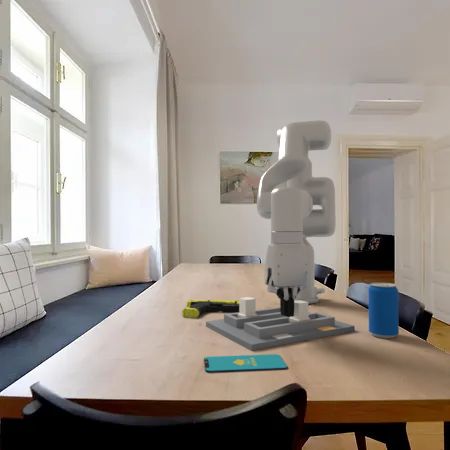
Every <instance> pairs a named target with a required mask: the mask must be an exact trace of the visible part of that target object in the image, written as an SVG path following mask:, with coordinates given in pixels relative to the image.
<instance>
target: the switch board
mask: <svg viewBox="0 0 450 450" xmlns="http://www.w3.org/2000/svg"><path fill="white" fill-rule="evenodd" d="M238 314H239V312H229V313H225V314H223V319H222V318H221V319H215V320H207V321H205V327H207V328H209V329H211V330H212V331H214V332H216V333H217V334H220V335H221V336H223V337H226V338H227V339H229V340H231V341H233V342H235V343H237V344H239V345H240V346H242V347H245V348H246V349H248V350H250V351H257V350H261V349H267V348H273V347H277V346H282V345H288V344H292V343H297V342H303V341H304V342H305V341H309V340H312V339H313V340H314V339H318V338H325V337H328V336H329V337H330V336H334V335H339V334H345V333H351V332H355V325H353V324H349V323H345V322H342V321H340V320H336V319H335V318H336V317H335V316H331V315H328V314H325V313H322V312H317V311H316V312H315V311H314V312H309V311H308V317H309V318H310V320H304V321H298V322H292V323H289V318H291V316H290V317H286V316H283V315H281V311H280V306H279V307H278V306H276V307H269V308H262V309H256V314H257V315H256V316H249V317H242V318H238Z"/></svg>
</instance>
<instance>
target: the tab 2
mask: <svg viewBox="0 0 450 450" xmlns="http://www.w3.org/2000/svg"><path fill="white" fill-rule="evenodd" d="M308 312H309V304H308V302H305V301H301V300H298V301H294V316H293V317H291V318H289V323H292V322H298V321H304V320H310V318H309V317H308Z"/></svg>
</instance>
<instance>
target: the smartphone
mask: <svg viewBox="0 0 450 450" xmlns="http://www.w3.org/2000/svg"><path fill="white" fill-rule="evenodd" d="M203 364H204V371H205V373H207V374H210V373H211V374H214V373H235V372H236V373H238V372H256V371H257V372H258V371H262V372H263V371H281V370H282V371H283V370H287V369H288V365H287V364H286V362H285V360H284V359H283V358H282V357H281V355H280V354H276V353H274V354H250V355H249V354H246V355H243V354H242V355H241V354H240V355H223V356H222V355H220V356H219V355H217V356H205V357H204V358H203Z"/></svg>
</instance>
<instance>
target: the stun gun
mask: <svg viewBox="0 0 450 450" xmlns="http://www.w3.org/2000/svg"><path fill="white" fill-rule="evenodd" d="M210 312H222V313H238V312H239V299H237V300H235V299H234V300H233V299H191V300H189V299H188V300H187V301H186V307H184V308H183V309H182V313H181V315H182V317H183V318H191V319H193V318H194V319H196V318H198V317H200V316H201V315H203V314H205V313H210Z"/></svg>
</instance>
